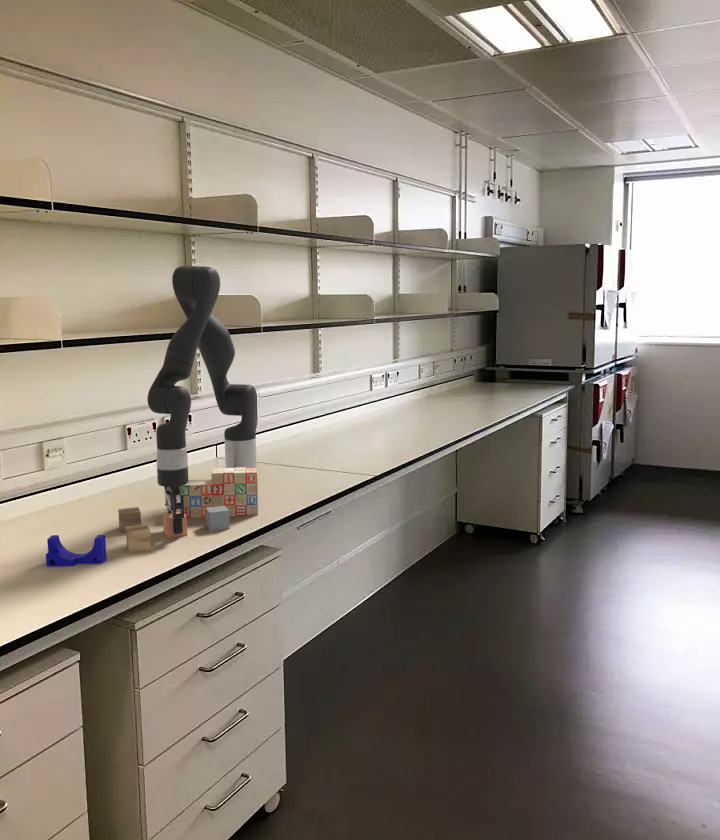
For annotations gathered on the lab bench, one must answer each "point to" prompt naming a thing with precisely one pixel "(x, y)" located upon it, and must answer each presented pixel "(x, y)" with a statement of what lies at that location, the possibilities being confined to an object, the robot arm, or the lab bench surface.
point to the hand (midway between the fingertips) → (175, 529)
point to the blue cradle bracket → (66, 558)
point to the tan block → (129, 518)
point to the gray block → (217, 518)
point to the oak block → (138, 538)
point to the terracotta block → (169, 525)
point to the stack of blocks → (223, 492)
